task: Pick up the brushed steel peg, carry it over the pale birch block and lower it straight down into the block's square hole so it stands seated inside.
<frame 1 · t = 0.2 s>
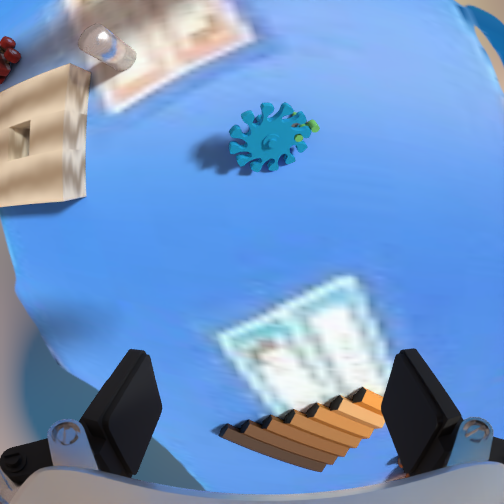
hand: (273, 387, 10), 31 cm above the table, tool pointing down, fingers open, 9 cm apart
steel peg: (124, 59, 34), on the table
pan flute: (309, 418, 50), on the table
hole block: (41, 141, 38), on the table
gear: (273, 140, 37), on the table
toy fire truck: (8, 61, 33), on the table
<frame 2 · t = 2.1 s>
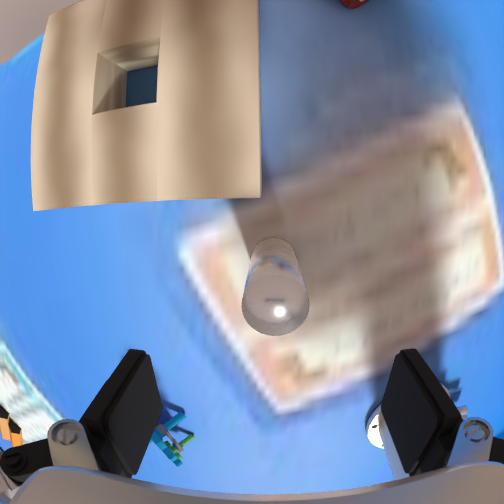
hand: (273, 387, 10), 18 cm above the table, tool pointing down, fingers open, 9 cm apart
steel peg: (273, 259, 27), on the table
hole block: (152, 92, 24), on the table
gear: (164, 417, 34), on the table
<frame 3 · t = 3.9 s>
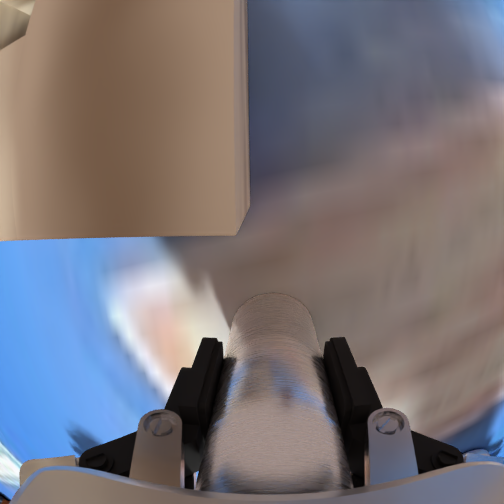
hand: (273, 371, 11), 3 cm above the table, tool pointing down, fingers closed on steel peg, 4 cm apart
steel peg: (272, 330, 14), on the table, touching gripper
hole block: (67, 41, 11), on the table
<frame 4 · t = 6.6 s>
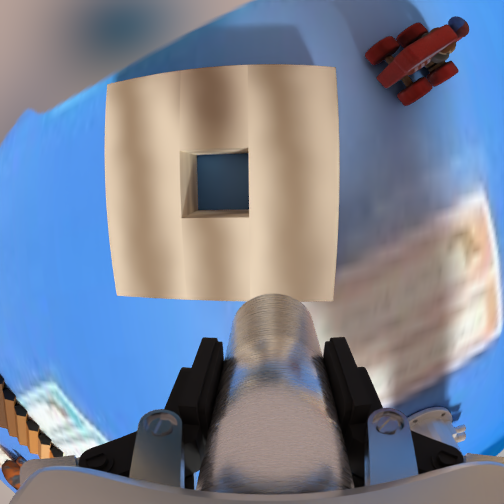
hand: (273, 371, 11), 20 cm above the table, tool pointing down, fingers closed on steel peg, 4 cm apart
steel peg: (272, 330, 14), point 17 cm above the table, touching gripper
orange lumpy piece: (40, 478, 55), on the table
pan flute: (25, 416, 44), on the table
hole block: (224, 181, 29), on the table
toy fire truck: (406, 67, 25), on the table
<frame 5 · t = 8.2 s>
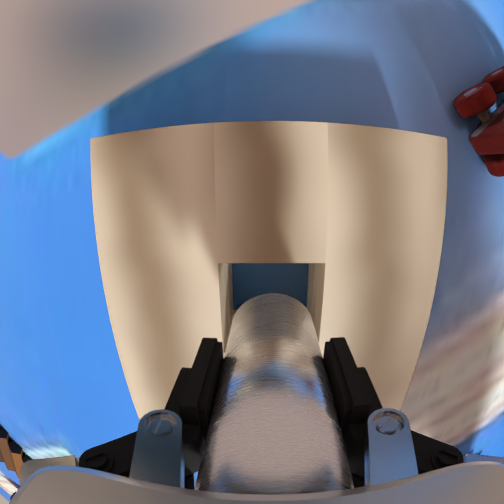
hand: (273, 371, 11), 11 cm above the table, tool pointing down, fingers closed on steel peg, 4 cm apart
steel peg: (272, 330, 14), point 8 cm above the table, touching gripper
pan flute: (33, 463, 37), on the table
hole block: (270, 275, 22), on the table
toy fire truck: (490, 117, 18), on the table
when the fingers open (8 cm above the table, at t = 9.3 s): steel peg drops 4 cm, resting in hole block.
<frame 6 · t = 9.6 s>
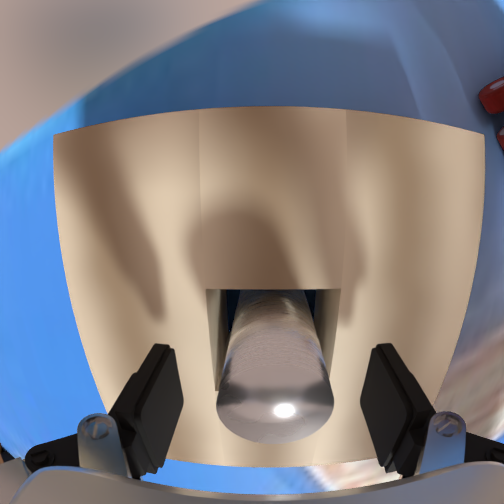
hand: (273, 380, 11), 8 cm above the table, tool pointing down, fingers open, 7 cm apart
steel peg: (272, 294, 19), resting in hole block
hole block: (271, 294, 19), on the table
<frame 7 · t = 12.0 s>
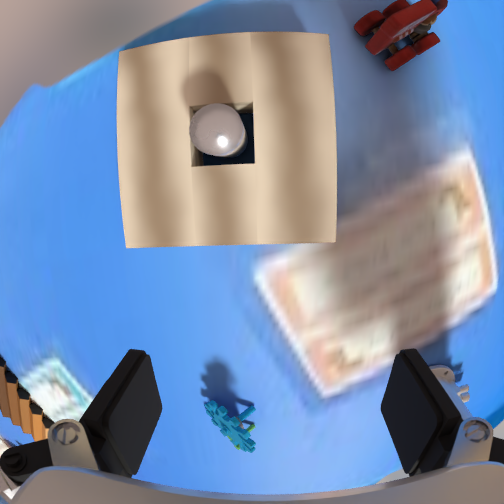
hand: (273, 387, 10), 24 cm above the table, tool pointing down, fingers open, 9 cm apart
steel peg: (229, 139, 30), resting in hole block
pan flute: (28, 400, 46), on the table
hole block: (228, 139, 30), on the table
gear: (232, 410, 41), on the table
toy fire truck: (392, 38, 26), on the table
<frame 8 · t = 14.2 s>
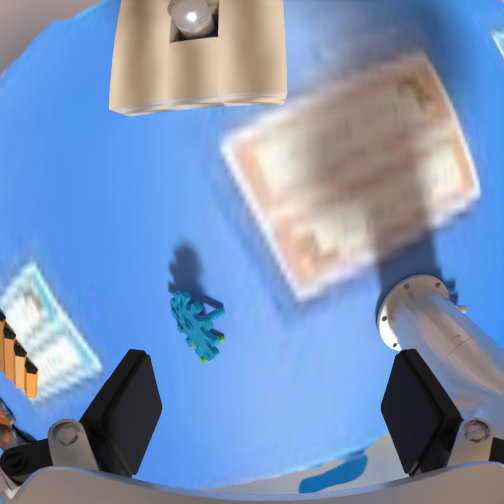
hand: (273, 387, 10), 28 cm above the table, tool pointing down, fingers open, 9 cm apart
steel peg: (204, 40, 31), resting in hole block
orange lumpy piece: (19, 428, 58), on the table
pan flute: (3, 328, 46), on the table
hole block: (204, 39, 31), on the table
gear: (200, 315, 41), on the table
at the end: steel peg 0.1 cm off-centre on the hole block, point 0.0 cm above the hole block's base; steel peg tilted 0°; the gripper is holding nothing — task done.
